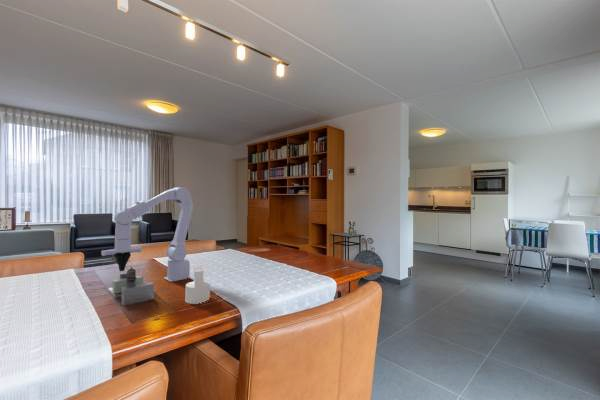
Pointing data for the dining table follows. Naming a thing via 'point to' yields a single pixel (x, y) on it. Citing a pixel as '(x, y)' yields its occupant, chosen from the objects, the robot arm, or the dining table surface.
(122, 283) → the vise jaw
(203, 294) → the cylinder with rectangular tab
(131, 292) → the plate
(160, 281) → the dining table surface
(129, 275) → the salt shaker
